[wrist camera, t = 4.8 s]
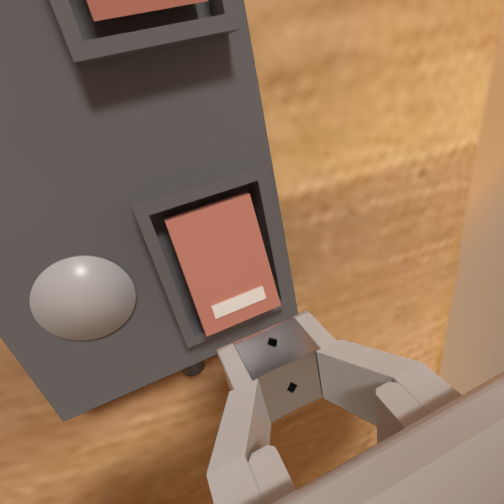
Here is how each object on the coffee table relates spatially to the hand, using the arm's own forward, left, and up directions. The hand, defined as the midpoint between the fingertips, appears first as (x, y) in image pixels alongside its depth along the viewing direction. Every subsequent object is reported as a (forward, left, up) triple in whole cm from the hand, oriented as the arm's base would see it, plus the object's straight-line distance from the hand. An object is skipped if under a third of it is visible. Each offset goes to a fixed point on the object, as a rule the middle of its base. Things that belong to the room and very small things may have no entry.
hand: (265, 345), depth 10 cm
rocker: (-1, 0, -3) cm, 3 cm away
